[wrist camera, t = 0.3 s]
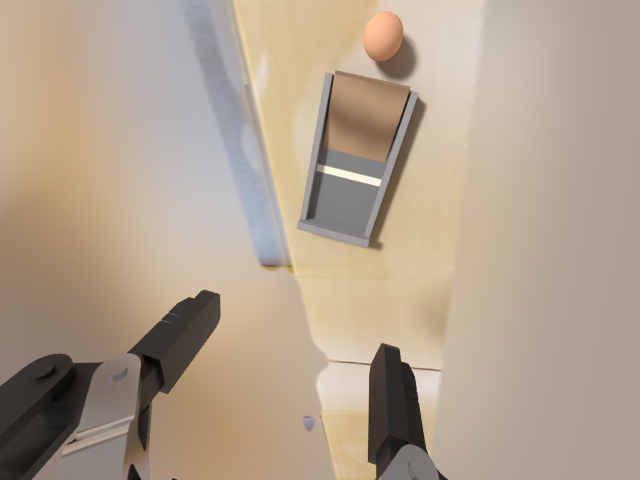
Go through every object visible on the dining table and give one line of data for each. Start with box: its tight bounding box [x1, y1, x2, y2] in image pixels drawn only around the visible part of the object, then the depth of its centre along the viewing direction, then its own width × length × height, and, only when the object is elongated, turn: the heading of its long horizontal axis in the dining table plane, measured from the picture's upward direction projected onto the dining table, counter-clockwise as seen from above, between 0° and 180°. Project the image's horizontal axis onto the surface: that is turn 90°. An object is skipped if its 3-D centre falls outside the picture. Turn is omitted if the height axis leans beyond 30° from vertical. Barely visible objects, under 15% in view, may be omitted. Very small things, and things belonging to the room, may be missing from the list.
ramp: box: [323, 71, 410, 163], centre depth 30 cm, size 9×9×3 cm
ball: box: [364, 12, 403, 61], centre depth 25 cm, size 4×4×4 cm
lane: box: [297, 73, 419, 248], centre depth 33 cm, size 20×11×3 cm, turn 169°
